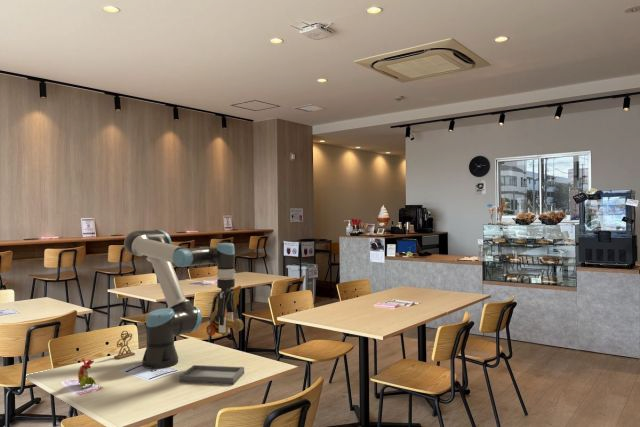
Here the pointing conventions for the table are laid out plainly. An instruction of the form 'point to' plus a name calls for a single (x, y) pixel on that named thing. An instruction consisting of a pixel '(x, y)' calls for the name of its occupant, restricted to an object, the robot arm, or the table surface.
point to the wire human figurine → (124, 348)
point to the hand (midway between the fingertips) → (226, 329)
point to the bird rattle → (85, 374)
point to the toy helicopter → (230, 323)
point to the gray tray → (212, 374)
